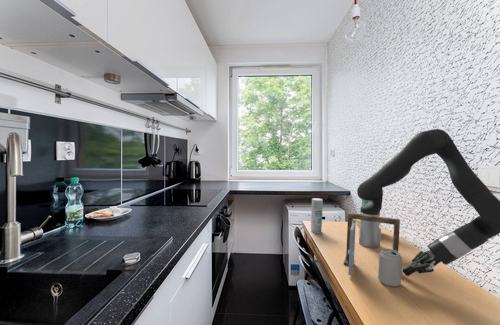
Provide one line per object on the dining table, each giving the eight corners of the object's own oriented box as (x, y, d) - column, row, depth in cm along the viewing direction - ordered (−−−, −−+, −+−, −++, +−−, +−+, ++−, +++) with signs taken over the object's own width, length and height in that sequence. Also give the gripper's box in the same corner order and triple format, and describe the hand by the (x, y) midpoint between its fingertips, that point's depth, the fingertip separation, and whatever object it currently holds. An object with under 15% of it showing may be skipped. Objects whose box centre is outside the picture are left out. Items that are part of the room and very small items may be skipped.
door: (350, 260, 104) (352, 220, 103) (355, 261, 103) (357, 220, 102) (347, 274, 91) (348, 229, 90) (352, 275, 90) (354, 230, 89)
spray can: (313, 233, 140) (314, 200, 139) (308, 229, 147) (309, 198, 146) (323, 232, 142) (324, 200, 141) (318, 229, 148) (319, 198, 147)
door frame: (343, 264, 102) (345, 214, 101) (345, 257, 109) (347, 210, 108) (399, 277, 92) (402, 222, 91) (397, 268, 99) (400, 217, 98)
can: (404, 289, 84) (406, 256, 83) (381, 286, 86) (383, 254, 85) (396, 278, 91) (397, 248, 91) (375, 275, 93) (376, 246, 92)
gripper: (435, 232, 87) (394, 257, 93) (444, 245, 75) (397, 272, 81) (452, 250, 85) (410, 273, 91) (465, 265, 73) (415, 291, 79)
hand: (404, 273), depth 86 cm, fingers closed
